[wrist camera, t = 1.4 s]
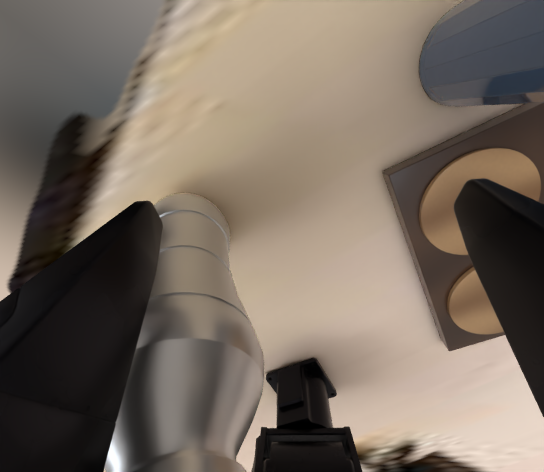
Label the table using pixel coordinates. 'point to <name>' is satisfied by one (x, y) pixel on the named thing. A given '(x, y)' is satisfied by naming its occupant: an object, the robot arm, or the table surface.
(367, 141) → the table surface
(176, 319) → the silver metal bottle
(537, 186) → the coaster board
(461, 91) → the tumbler
